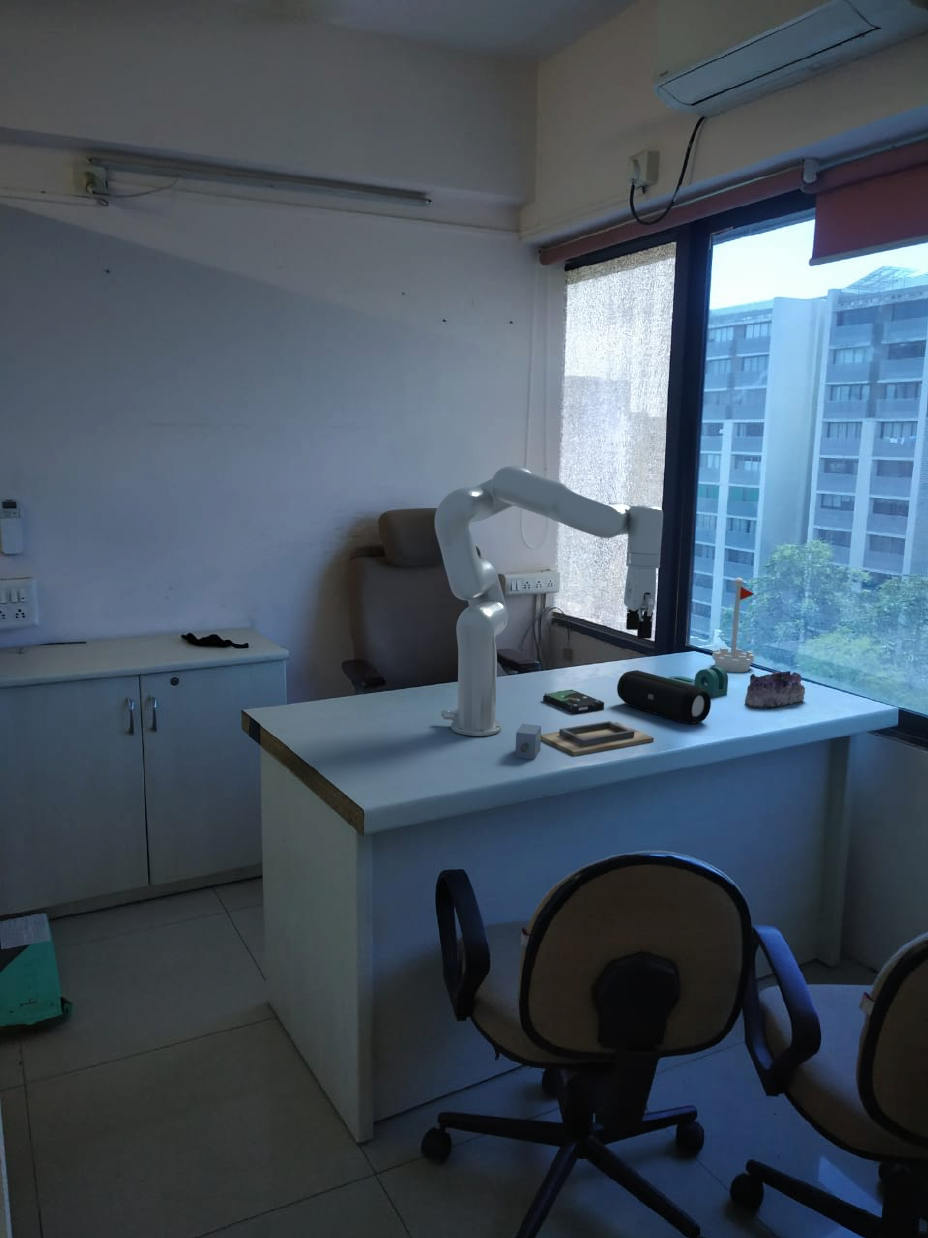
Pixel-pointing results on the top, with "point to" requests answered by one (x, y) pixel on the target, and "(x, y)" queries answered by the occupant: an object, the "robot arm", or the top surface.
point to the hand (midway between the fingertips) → (638, 633)
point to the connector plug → (528, 741)
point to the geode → (774, 690)
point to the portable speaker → (664, 696)
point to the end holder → (595, 738)
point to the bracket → (708, 681)
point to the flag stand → (735, 640)
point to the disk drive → (573, 701)
